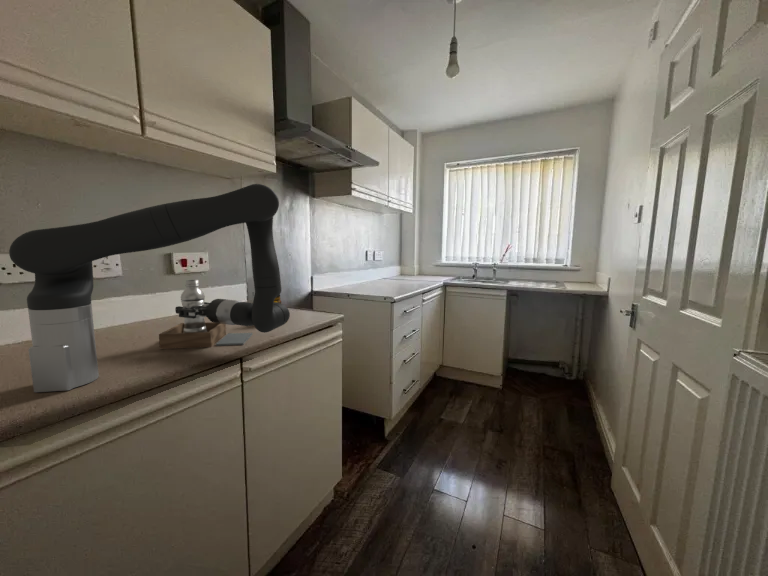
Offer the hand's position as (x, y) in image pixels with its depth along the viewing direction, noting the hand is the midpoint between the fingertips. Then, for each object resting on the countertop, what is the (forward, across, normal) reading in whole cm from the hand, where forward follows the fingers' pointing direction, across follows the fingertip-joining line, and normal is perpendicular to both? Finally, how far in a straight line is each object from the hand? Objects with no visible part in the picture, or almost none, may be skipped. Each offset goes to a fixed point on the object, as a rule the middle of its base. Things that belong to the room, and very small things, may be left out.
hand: (189, 307), depth 96 cm
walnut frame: (-2, 0, +11) cm, 11 cm away
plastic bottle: (-2, 0, +11) cm, 11 cm away
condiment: (-7, -31, +11) cm, 34 cm away
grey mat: (-12, -6, +11) cm, 17 cm away
